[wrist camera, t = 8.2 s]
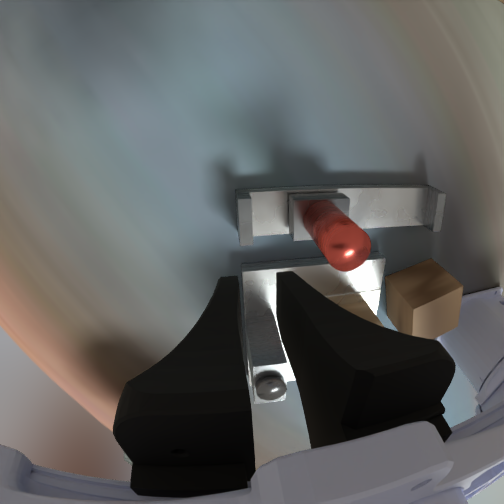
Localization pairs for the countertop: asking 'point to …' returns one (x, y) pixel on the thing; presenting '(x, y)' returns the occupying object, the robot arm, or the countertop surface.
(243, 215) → the rail
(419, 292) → the block
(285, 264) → the press
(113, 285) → the countertop surface
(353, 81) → the countertop surface
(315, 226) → the lever
